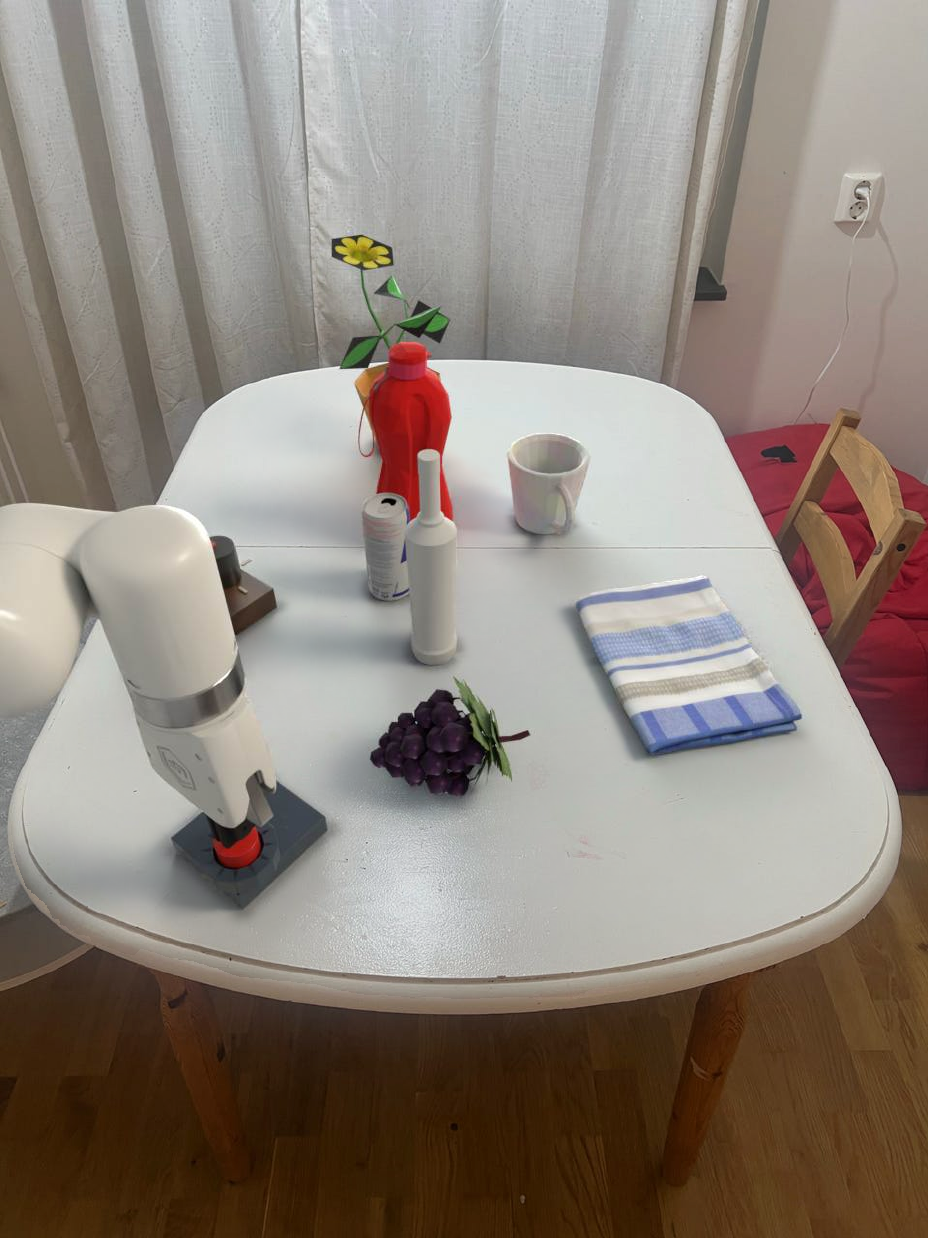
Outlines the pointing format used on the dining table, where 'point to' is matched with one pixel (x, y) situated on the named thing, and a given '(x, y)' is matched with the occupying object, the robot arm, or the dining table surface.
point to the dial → (226, 560)
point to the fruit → (443, 743)
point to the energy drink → (386, 545)
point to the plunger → (239, 851)
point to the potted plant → (362, 349)
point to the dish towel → (683, 666)
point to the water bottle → (408, 423)
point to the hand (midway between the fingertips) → (235, 832)
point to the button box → (279, 848)
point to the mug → (547, 481)
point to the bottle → (431, 569)
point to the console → (248, 601)
